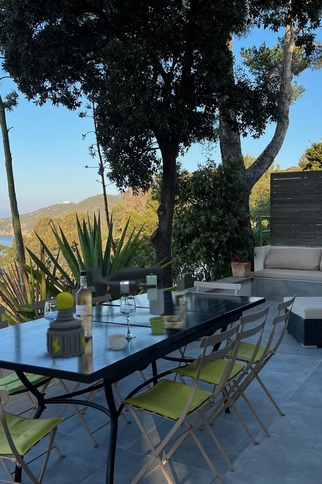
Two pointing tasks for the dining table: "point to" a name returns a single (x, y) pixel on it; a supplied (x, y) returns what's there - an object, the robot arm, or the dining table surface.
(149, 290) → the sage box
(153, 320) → the plant pot
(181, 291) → the architectural model
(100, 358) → the dining table surface
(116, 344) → the candle
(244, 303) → the dining table surface
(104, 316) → the dining table surface
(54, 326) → the decorative lamp
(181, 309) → the beige l-shaped stand
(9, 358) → the dining table surface
